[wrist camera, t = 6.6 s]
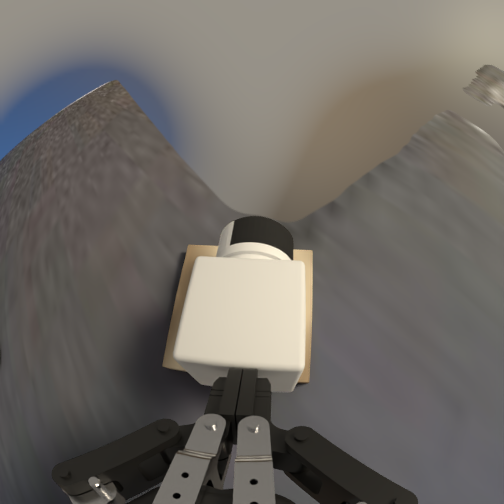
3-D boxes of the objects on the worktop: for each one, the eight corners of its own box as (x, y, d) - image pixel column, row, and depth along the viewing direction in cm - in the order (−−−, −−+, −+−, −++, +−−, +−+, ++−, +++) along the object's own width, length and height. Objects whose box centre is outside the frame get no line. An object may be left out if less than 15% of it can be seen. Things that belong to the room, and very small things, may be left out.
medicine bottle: (293, 393, 19) (296, 263, 26) (305, 370, 13) (303, 206, 20) (198, 385, 19) (221, 259, 27) (169, 358, 14) (209, 203, 21)
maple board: (167, 368, 22) (162, 366, 21) (191, 251, 28) (188, 244, 27) (307, 383, 21) (309, 382, 20) (311, 256, 27) (312, 250, 26)
